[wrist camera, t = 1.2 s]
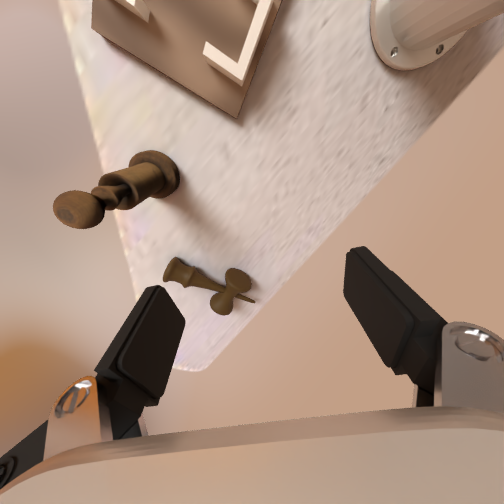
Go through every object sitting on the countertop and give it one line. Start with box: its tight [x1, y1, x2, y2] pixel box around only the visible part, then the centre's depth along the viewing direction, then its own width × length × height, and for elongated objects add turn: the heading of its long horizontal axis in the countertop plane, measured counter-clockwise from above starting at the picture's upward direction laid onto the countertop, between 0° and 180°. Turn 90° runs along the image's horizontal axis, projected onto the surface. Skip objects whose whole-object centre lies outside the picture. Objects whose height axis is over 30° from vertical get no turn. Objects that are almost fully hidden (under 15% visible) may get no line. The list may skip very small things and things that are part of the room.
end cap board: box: [91, 0, 282, 119], centre depth 20 cm, size 14×17×2 cm
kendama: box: [163, 257, 255, 315], centre depth 39 cm, size 6×10×20 cm
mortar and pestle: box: [53, 150, 180, 229], centre depth 21 cm, size 7×6×18 cm
